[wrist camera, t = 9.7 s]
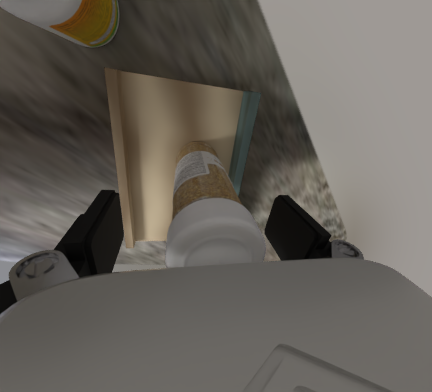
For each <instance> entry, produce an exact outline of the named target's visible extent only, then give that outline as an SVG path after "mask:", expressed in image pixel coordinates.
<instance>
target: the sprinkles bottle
mask: <svg viewBox="0 0 432 392" xmlns="http://www.w3.org/2000/svg"><path fill="white" fill-rule="evenodd" d="M172 204H173V212H172V213H173V214H172V222H171V224H170V226H169V229H168V233H167V241H166V255H165V261H166V267H167V268H176V267H190V266H206V265H221V264H237V263H253V262H263V260H264V257H265V252H266V245H265V240H264V237H263V235H262V233H261V231H260V229H259V227H258V225H257V223H256V222H255V220H254V218H253V216H252V215H251V213H250V212H249V211H248V210H247V209H246V208H245V207H244V206H243V205H242V204H241V201H240V200H239V198H238V196H237V194H236V192H235V190H234V187H233V185H232V182H231V180H230V179H229V177H228V175H227V173H226V171H225V169H224V167H223V165H222V163H221V162H220V160H219V158H218V155H217V153H216V151H215V150H214V149H213V148H212V147H211V146H210V145H208V144H206V143H203V142H191V143H189V144H187V145H185V146H184V147H182V148H181V149H180V151H179V152H178V154H177V157H176V171H175V179H174V190H173V202H172Z"/></svg>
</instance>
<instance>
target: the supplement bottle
mask: <svg viewBox="0 0 432 392" xmlns="http://www.w3.org/2000/svg"><path fill="white" fill-rule="evenodd" d="M0 7H1V8H2V9H4V10H5V11H7V12H9V13H11V14H13V15H14V16H16V17H18V18H20V19H22V20H24V21H26V22H29V23H31V24H33V25H36V26H38V27H40V28H42V29H45V30H47V31H49V32H51V33H53V34H56V35H58V36H60V37H62V38H65V39H67V40H69V41H71V42H73V43H76V44H79V45H82V46H85V47H92V48H93V47H100V46H103V45H105V44H107V43H108V42H110V41H111V40H112V39H113V37H114V36H115V34H116V32H117V29H118V25H119V6H118V1H117V0H0Z"/></svg>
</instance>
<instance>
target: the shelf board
mask: <svg viewBox="0 0 432 392" xmlns="http://www.w3.org/2000/svg"><path fill="white" fill-rule="evenodd" d="M104 71H105V79H106V87H107V95H108V103H109V112H110V120H111V128H112V136H113V144H114V152H115V160H116V169H117V177H118V185H119V193H120V201H121V209H122V217H123V226H124V234H125V242H126V248H134V245H135V241H167V233H168V229H169V226H170V224H171V222H172V214H173V213H172V212H173V204H172V202H173V190H174V179H175V171H176V157H177V154H178V152H179V151H180V149H181V148H182V147H184V146H185V145H187V144H189V143H191V142H203V143H206V144H208V145H210V146H211V147H212V148H213V149H214V150H215V151H216V153H217V155H218V158H219V160H220V162H221V163H222V165H223V167H224V169H225V171H226V173H227V175H228V177H229V179H230V180H231V182H232V185H233V187H234V190H235V192H236V194H237V196H239V191H240V187H241V182H242V178H243V173H244V169H245V164H246V159H247V155H248V150H249V146H250V141H251V137H252V132H253V128H254V123H255V119H256V114H257V110H258V105H259V101H260V96H261V93H258V92H252V91H239V90H233V89H227V88H221V87H215V86H209V85H203V84H197V83H191V82H185V81H179V80H173V79H167V78H161V77H155V76H149V75H143V74H137V73H131V72H125V71H120V70H116V69H111V68H105V67H104Z"/></svg>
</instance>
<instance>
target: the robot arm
mask: <svg viewBox="0 0 432 392" xmlns="http://www.w3.org/2000/svg"><path fill="white" fill-rule="evenodd" d="M265 235H266V237H267V239H268V240H269V242H270V243H271V245H272V246H273V248H274V250H275V251H276V253H277V254H278V256H279V258H280V259H281V261H269V262H253V263H237V264H221V265H206V266H190V267H176V268H161V269H147V270H133V271H123V272H114V273H112V270H113V267H114V264H115V261H116V258H117V255H118V253H119V250H120V247H121V244H122V241H123V237H124V230H123V222H122V214H121V206H120V198H119V193H115V191H114V190H101V191H100V193H99V194H98V195H97V197H96V198H95V200H94V201H93V202H92V204H91V205H90V207H89V208H88V209H87V211H86V212H85V213H84V214H81V215H80V216H79V217H78V218H77V219H76V221H75V222H74V223H73V225H72V226H71V227H70V229H69V230H68V231H67V233H66V234H65V235H64V237H63V238H62V239H61V241H60V242H59V243H58V245H57V246H56V247H55V249H54V250H45V251H40V252H36V253H33V254H31V255H29V256H27V257H25V258H23V259H22V260H20V261H19V262H17V263H16V264H15V265H14V266H13V267H12V268H11V270H10V272H9V281H6V282H4V283H2V284H0V392H432V297H431V296H429V295H428V294H427V293H425V292H424V291H423V290H422V289H420V288H419V287H418V286H416V285H415V284H414V283H413V282H411V281H410V280H409V279H407V278H406V277H405V276H403V275H402V274H400V273H399V272H397V271H396V270H394V269H392V268H390V267H388V266H385V265H383V264H380V263H376V262H373V261H368V260H364V257H363V254H362V252H361V251H360V250H359V249H358V248H357V247H355V246H354V245H352V244H350V243H348V242H346V241H343V240H338V239H337V240H333V241H332V242H330V241H329V239H330V237H331V234H329V233H328V232H327V231H326V230H325V229H324V228H323V227H322V226H321V225H320V224H319V223H318V222H316V221H315V220H314V219H313V218H312V217H311V216H310V215H309V214H308V213H307V212H306V211H305V210H303V209H302V208H301V207H300V206H299V205H298V204H297V203H296V202H295V201H294V200H293V199H292V198H290V197H289V196H288V195H279V196H278V197H276V198H275V200H274V203H273V206H272V209H271V212H270V215H269V218H268V221H267V224H266V227H265Z"/></svg>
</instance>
